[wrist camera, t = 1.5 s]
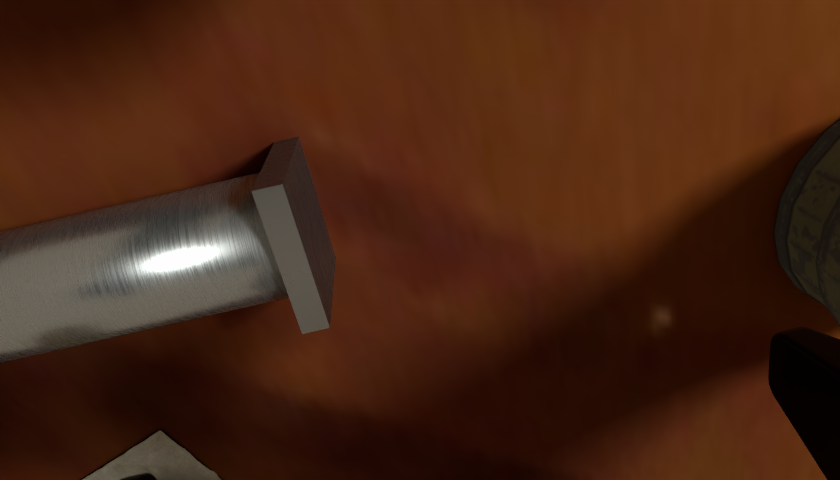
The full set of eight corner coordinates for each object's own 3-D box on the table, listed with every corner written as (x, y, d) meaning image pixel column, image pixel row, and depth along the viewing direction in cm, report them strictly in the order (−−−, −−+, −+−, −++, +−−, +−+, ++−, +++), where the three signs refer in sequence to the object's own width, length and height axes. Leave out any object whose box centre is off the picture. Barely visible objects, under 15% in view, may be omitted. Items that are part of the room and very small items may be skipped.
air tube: (299, 136, 19) (282, 184, 15) (335, 257, 21) (329, 327, 17) (-222, 255, 19) (-375, 334, 15) (-138, 364, 21) (-254, 459, 17)
